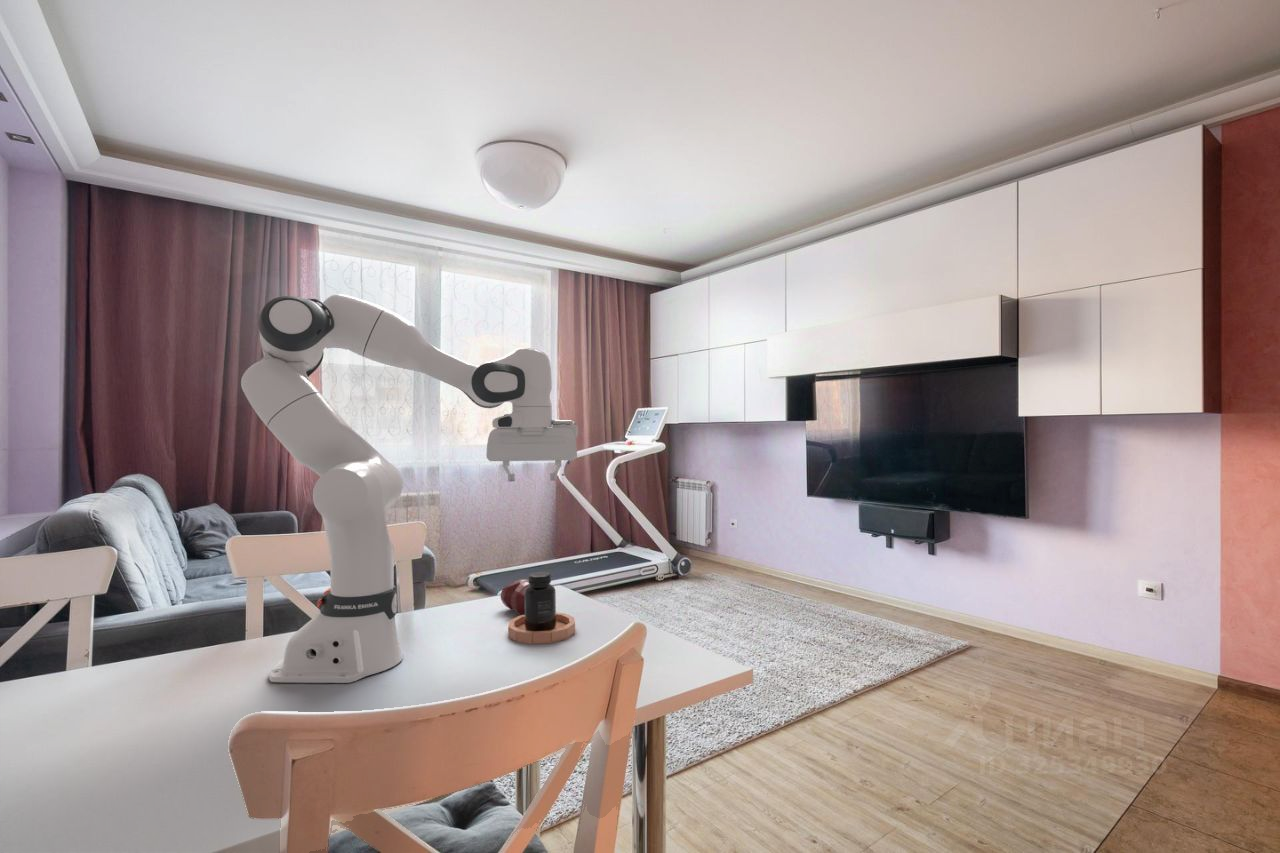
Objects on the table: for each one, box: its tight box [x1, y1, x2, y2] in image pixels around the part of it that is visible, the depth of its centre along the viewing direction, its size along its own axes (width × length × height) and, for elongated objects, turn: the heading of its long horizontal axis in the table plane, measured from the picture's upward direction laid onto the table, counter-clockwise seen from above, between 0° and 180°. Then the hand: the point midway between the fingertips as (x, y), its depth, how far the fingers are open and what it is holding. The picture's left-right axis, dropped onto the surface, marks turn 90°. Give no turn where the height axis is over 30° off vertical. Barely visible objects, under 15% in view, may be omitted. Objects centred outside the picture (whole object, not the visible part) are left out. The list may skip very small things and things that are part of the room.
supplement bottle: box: [524, 571, 557, 631], centre depth 133 cm, size 7×7×12 cm
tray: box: [507, 612, 576, 645], centre depth 133 cm, size 14×14×2 cm
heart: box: [500, 578, 530, 616], centre depth 149 cm, size 12×8×10 cm
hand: (532, 480), depth 137 cm, fingers open, 8 cm apart
